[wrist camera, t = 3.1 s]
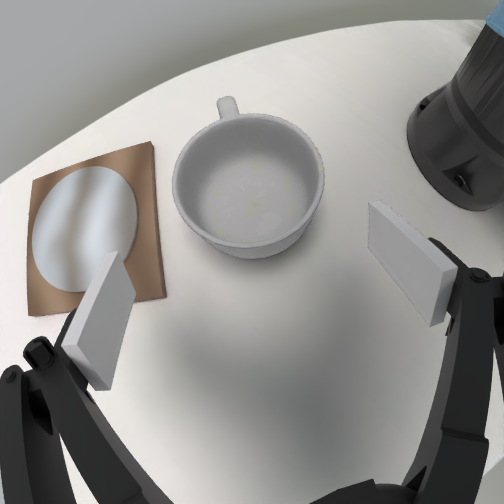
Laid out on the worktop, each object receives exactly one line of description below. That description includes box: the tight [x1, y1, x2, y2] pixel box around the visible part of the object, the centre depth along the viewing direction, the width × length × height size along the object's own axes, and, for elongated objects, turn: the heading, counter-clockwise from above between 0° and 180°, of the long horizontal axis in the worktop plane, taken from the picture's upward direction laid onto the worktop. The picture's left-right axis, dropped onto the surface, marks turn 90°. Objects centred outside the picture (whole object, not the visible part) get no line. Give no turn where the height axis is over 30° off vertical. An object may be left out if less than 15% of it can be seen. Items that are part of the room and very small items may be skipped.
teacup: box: [172, 96, 324, 259], centre depth 25 cm, size 14×11×8 cm
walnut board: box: [27, 141, 166, 317], centre depth 28 cm, size 16×16×2 cm
